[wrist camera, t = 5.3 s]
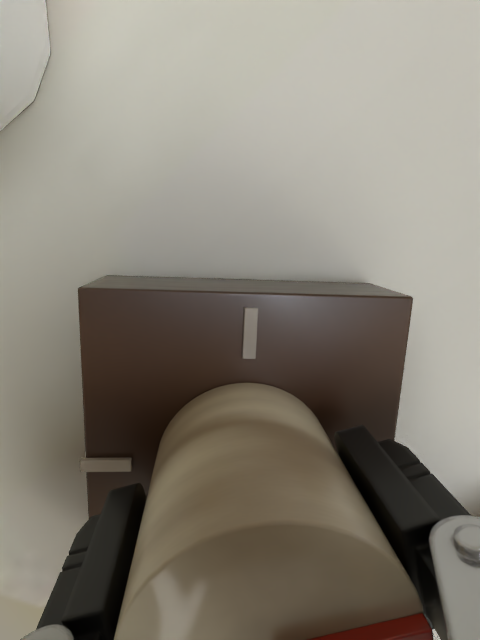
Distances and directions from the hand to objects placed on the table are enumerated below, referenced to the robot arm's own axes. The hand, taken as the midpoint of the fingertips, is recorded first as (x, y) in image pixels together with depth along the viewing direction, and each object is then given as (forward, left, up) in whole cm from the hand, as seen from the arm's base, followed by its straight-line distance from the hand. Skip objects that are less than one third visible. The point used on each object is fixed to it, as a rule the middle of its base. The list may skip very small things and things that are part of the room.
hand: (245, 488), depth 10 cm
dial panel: (0, 0, -4) cm, 4 cm away
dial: (0, 0, -1) cm, 1 cm away
